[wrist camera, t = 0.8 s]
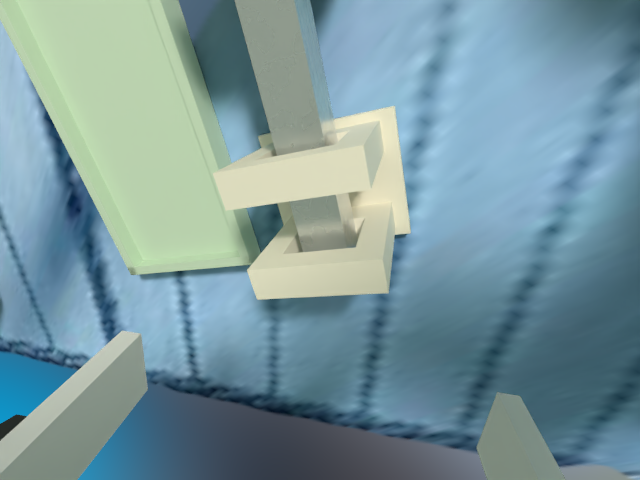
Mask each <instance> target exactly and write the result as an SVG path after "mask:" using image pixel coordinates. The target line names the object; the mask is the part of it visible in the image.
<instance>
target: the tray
mask: <svg viewBox="0 0 640 480" xmlns="http://www.w3.org/2000/svg"><path fill="white" fill-rule="evenodd" d="M0 20H1V22H2V24H3V26H4V28H5V30H6V31H7V33H8V35H9V37H10V39H11V41H12V43H13V45H14V47H15V49H16V51H17V53H18V55H19V57H20V59H21V61H22V63H23V65H24V67H25V69H26V71H27V72H28V74H29V76H30V78H31V80H32V82H33V84H34V86H35V88H36V90H37V92H38V94H39V96H40V98H41V100H42V102H43V104H44V106H45V108H46V110H47V112H48V114H49V115H50V117H51V119H52V121H53V123H54V125H55V127H56V129H57V131H58V133H59V135H60V137H61V139H62V141H63V143H64V145H65V147H66V149H67V151H68V153H69V155H70V156H71V158H72V160H73V162H74V164H75V166H76V168H77V170H78V172H79V174H80V176H81V178H82V180H83V182H84V184H85V186H86V188H87V190H88V192H89V194H90V196H91V197H92V199H93V201H94V203H95V205H96V207H97V209H98V211H99V213H100V215H101V217H102V219H103V221H104V223H105V225H106V227H107V229H108V231H109V233H110V235H111V237H112V238H113V240H114V242H115V244H116V246H117V248H118V250H119V252H120V254H121V256H122V258H123V260H124V262H125V264H126V266H127V268H128V270H129V272H130V274H131V275H138V274H149V273H161V272H172V271H184V270H195V269H207V268H218V267H230V266H241V265H252V264H253V262H254V261H255V260H256V259H257V257H258V256H259V255H260V254H261V251H260V248H259V245H258V242H257V239H256V236H255V233H254V230H253V227H252V224H251V221H250V218H249V215H248V212H247V209H246V208H241V209H234V210H227V211H226V210H225V207H224V204H223V201H222V198H221V196H220V193H219V190H218V187H217V184H216V182H215V179H214V176H213V173H214V172H216V171H218V170H220V169H222V168H224V167H226V166H228V165H230V164H232V163H231V160H230V157H229V154H228V151H227V148H226V145H225V141H224V138H223V135H222V132H221V129H220V126H219V123H218V120H217V117H216V114H215V111H214V108H213V105H212V102H211V99H210V96H209V93H208V90H207V87H206V83H205V80H204V77H203V74H202V71H201V68H200V65H199V62H198V59H197V56H196V53H195V50H194V47H193V44H192V41H191V38H190V35H189V32H188V29H187V26H186V22H185V19H184V16H183V13H182V10H181V7H180V4H179V1H178V0H0Z"/></svg>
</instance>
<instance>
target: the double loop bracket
mask: <svg viewBox="0 0 640 480" xmlns="http://www.w3.org/2000/svg"><path fill="white" fill-rule="evenodd" d="M334 123H335V128H336V133H337V138H338V142H337V143H336V144H335V145H331V146H326V147H321V148H316V149H310V150H305V151H300V152H295V153H290V154H285V155H279V156H277V154H276V151H275V147H274V143H273V140H272V136H271V133H267V134H262V135H260V136H258V138H259V141H260V145H261V149H259V150H257V151H255V152H253V153H251V154H249V155H247V156H245V157H243V158H241V159H239V160H238V161H236V162H234V163H232V164H230V165H228V166H226V167H224V168H222V169H220V170H218V171H216V172H214V173H213V176H214V179H215V182H216V184H217V187H218V190H219V193H220V196H221V198H222V201H223V204H224V207H225V210H226V211H227V210H234V209H241V208H248V207H255V206H262V205H268V204H275V203H277V204H278V207H279V211H280V214H281V218H282V221H283V225H284V226H283V227H282V228H281V230H280V231H279V232H278V233H277V234H276V236H275V237H274V238H273V239H272V241H271V242H270V243H269V244H268V245H267V247H266V248H265V249H264V250H263V251H262V253H261V254H260V255H259V256H258V257H257V259H256V260H255V261H254V262H253V264H252V265H251V266H250V267H249V268H248V270H247V272H248V275H249V278H250V280H251V283H252V286H253V289H254V292H255V294H256V297H257V300H261V299H281V298H300V297H320V296H340V295H359V294H379V293H389V284H390V275H391V265H392V256H393V246H394V237H395V235H398V234H408V233H411V228H410V220H409V213H408V205H407V197H406V189H405V182H404V174H403V166H402V158H401V150H400V143H399V135H398V127H397V119H396V111H395V106H390V107H386V108H381V109H377V110H372V111H368V112H363V113H358V114H354V115H349V116H345V117H340V118H336V119H334ZM343 193H349V198H350V203H351V208H352V214H353V219H354V224H355V229H356V234H357V239H358V242H357V245H356V247H354V248H344V249H333V250H323V251H312V252H303V250H302V246H301V243H300V239H299V235H298V232H297V228H296V224H295V220H294V217H293V213H292V209H291V206H290V202H289V201H296V200H302V199H309V198H316V197H323V196H330V195H337V194H343Z"/></svg>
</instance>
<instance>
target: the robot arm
mask: <svg viewBox="0 0 640 480" xmlns="http://www.w3.org/2000/svg"><path fill="white" fill-rule="evenodd" d="M147 390H148V388H147V379H146V371H145V363H144V354H143V346H142V337H141V334H139V333H133V332H127V331H121V332H120V333H119V334H118V335H117V336H116V337H115V338H114V339H112V340H111V341H110V342H109V343H108V344H107V345H106V346H105V347H104V348H102V349H101V350H100V351H99V352H98V353H97V354H96V355H95V356H94V357H92V358H91V359H90V360H89V361H88V362H87V363H86V364H85V365H84V366H83V367H81V368H80V369H79V370H78V371H77V372H76V373H75V374H74V375H73V376H71V377H70V378H69V379H68V380H67V381H66V382H65V383H64V384H63V385H62V386H60V387H59V388H58V389H57V390H56V391H55V392H54V393H53V394H52V395H50V396H49V397H48V398H47V399H46V400H45V401H44V402H43V403H42V404H40V405H39V406H38V407H37V408H36V409H35V410H34V411H33V412H32V413H31V414H30V415H28V416H27V417H26V416H21V415H15V416H13V417H12V418H10V419H8V420H6V421H5V422H3V423H1V424H0V480H77V479H78V478H79V477H80V475H81V474H82V473H83V472H84V470H85V469H86V468H87V467H88V465H89V464H90V463H91V461H92V460H93V459H94V458H95V456H96V455H97V454H98V452H99V451H100V450H101V449H102V447H103V446H104V445H105V443H106V442H107V441H108V440H109V438H110V437H111V436H112V435H113V433H114V432H115V431H116V429H117V428H118V427H119V425H120V424H121V423H122V422H123V420H124V419H125V418H126V417H127V415H128V414H129V413H130V411H131V410H132V409H133V408H134V406H135V405H136V404H137V403H138V401H139V400H140V399H141V397H142V396H143V395H144V393H145V392H146V391H147ZM477 451H478V454H479V457H480V460H481V463H482V466H483V469H484V472H485V475H486V478H487V480H566V479H565V477H564V475H563V474H562V472H561V470H560V468H559V466H558V465H557V463H556V461H555V459H554V457H553V455H552V454H551V452H550V450H549V448H548V446H547V444H546V443H545V441H544V439H543V437H542V435H541V433H540V432H539V430H538V428H537V426H536V424H535V422H534V421H533V419H532V417H531V415H530V413H529V411H528V410H527V408H526V406H525V404H524V402H523V400H522V399H521V397H520V396H517V395H511V394H505V393H499V392H497V394H496V397H495V400H494V402H493V405H492V408H491V410H490V413H489V416H488V418H487V421H486V424H485V426H484V429H483V432H482V434H481V437H480V440H479V442H478V445H477Z"/></svg>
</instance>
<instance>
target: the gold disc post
mask: <svg viewBox="0 0 640 480" xmlns="http://www.w3.org/2000/svg"><path fill="white" fill-rule="evenodd" d="M235 4H236V8H237V11H238V15H239V19H240V22H241V26H242V30H243V33H244V37H245V41H246V44H247V48H248V52H249V55H250V59H251V63H252V66H253V70H254V74H255V77H256V81H257V85H258V88H259V92H260V96H261V99H262V103H263V107H264V110H265V114H266V118H267V121H268V125H269V129H270V132H271V136H272V140H273V143H274V147H275V151H276V154H277V156H279V155H285V154H290V153H295V152H300V151H305V150H310V149H316V148H321V147H326V146H331V145H335V144H336V143H337V142H338V138H337V133H336V128H335V123H334V118H333V113H332V107H331V102H330V97H329V92H328V87H327V82H326V77H325V72H324V67H323V62H322V57H321V52H320V47H319V42H318V37H317V32H316V27H315V22H314V17H313V11H312V6H311V1H310V0H235ZM289 202H290V206H291V209H292V213H293V217H294V220H295V224H296V228H297V232H298V235H299V239H300V243H301V246H302V250H303V252H312V251H323V250H333V249H344V248H354V247H356V245H357V242H358V239H357V234H356V229H355V224H354V219H353V214H352V208H351V203H350V198H349V193H343V194H337V195H330V196H323V197H316V198H309V199H302V200H296V201H289Z"/></svg>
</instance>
